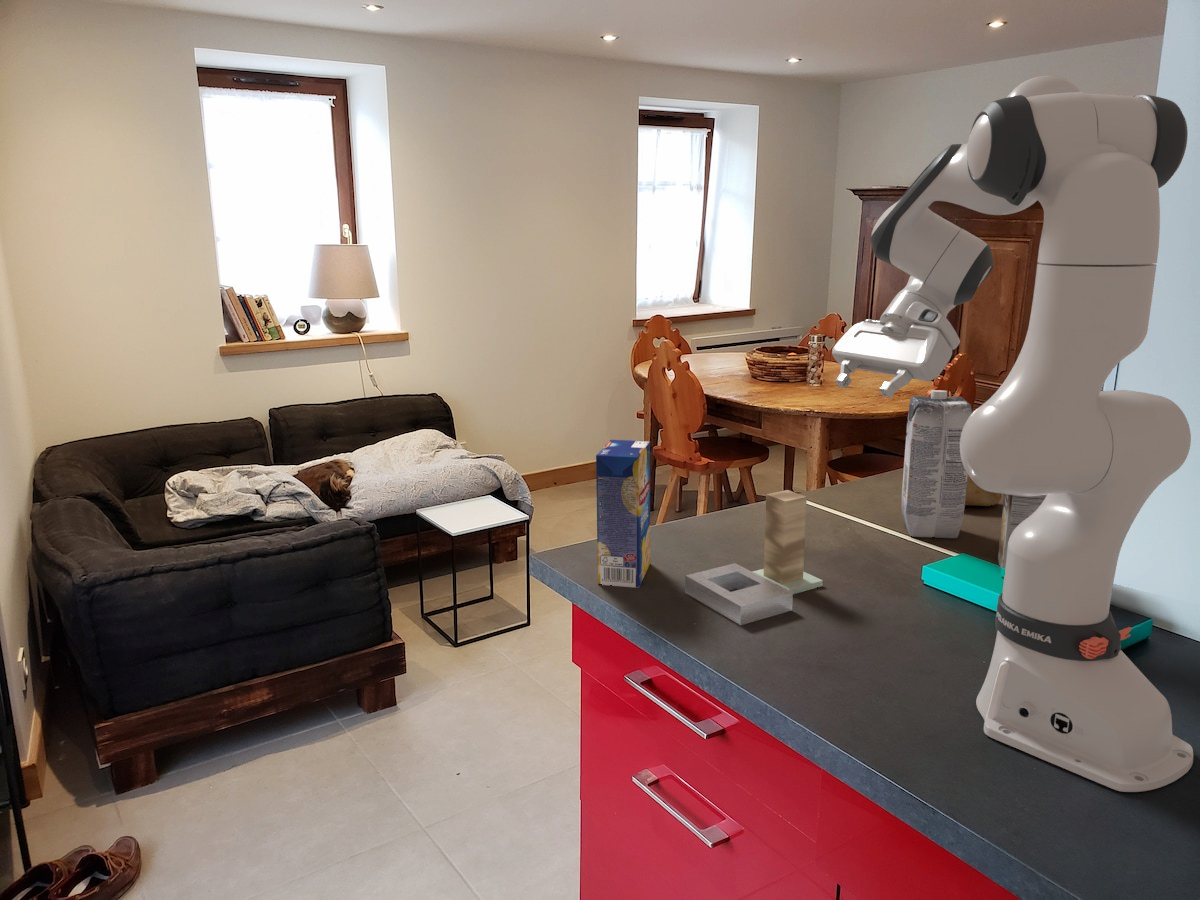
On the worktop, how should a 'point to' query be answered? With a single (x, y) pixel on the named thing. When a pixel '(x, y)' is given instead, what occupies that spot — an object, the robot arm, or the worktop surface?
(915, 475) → the juice carton
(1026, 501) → the coffee box
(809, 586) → the pad
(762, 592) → the grey square socket plate
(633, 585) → the beverage box
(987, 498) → the bread roll
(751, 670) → the worktop surface
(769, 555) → the oak peg
